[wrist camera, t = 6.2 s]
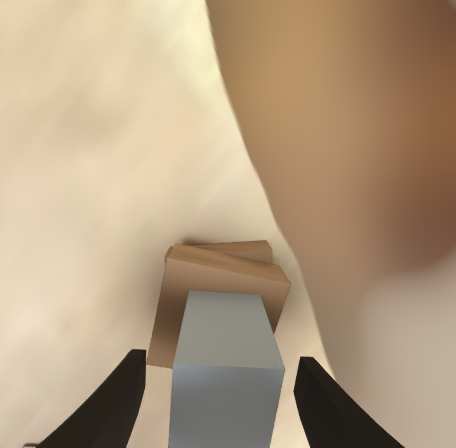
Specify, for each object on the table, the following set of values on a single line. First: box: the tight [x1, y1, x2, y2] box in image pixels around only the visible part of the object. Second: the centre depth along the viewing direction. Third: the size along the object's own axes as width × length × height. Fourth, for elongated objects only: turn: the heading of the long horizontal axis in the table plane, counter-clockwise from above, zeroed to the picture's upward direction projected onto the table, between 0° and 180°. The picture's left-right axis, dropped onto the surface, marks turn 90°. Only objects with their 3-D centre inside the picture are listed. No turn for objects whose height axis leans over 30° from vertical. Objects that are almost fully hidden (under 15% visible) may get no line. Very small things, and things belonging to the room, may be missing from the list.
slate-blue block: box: [168, 290, 285, 448], centre depth 11 cm, size 4×4×5 cm
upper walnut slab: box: [146, 243, 291, 369], centre depth 15 cm, size 7×7×2 cm
